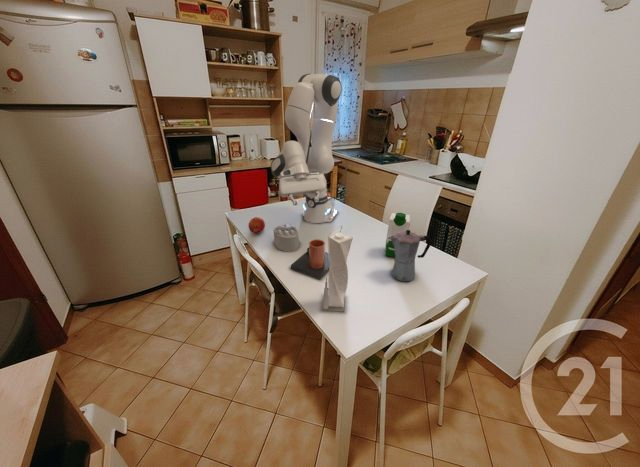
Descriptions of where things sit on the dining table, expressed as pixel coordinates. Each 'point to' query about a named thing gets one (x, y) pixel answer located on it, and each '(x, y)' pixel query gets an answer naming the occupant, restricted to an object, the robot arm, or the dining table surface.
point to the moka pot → (407, 254)
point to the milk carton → (396, 230)
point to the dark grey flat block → (305, 268)
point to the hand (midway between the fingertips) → (306, 203)
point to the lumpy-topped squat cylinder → (286, 237)
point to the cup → (316, 254)
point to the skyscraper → (337, 272)
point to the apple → (256, 225)
